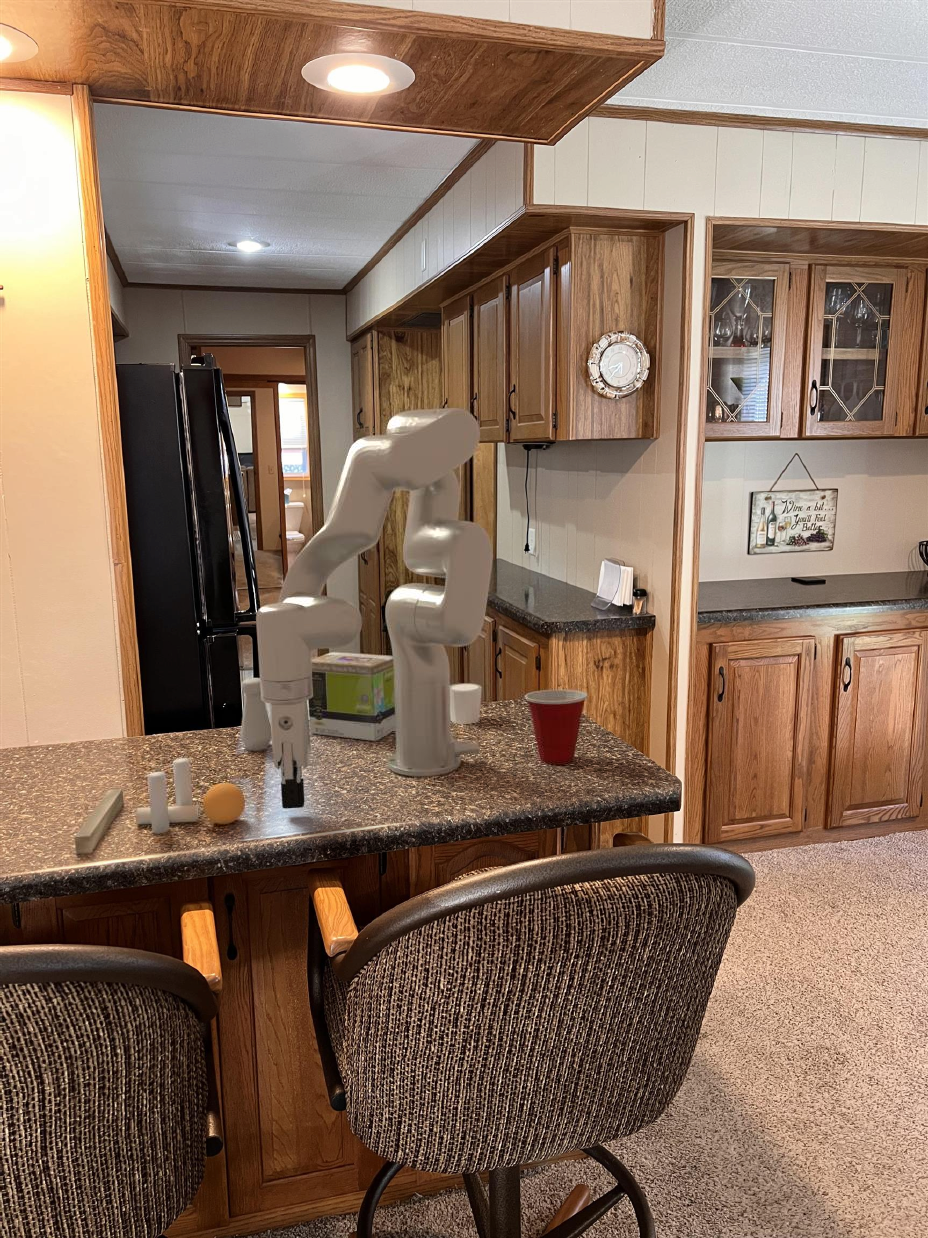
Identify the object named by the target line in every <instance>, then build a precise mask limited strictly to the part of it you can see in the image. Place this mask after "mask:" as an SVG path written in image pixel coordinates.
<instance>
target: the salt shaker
mask: <svg viewBox="0 0 928 1238" xmlns="http://www.w3.org/2000/svg"><path fill="white" fill-rule="evenodd" d="M241 692H242V693H243V694H244V703H243V711H242V718H241V728H240V729H241V730H240V740H241V741H242V743H243V745H244V747H245V748H246V750H248V751H251V752H252V751H253V752H254V751H255V752H256V751H257V752H258V751H259V752H260V751H263V750H266V749H268V747H270V746H269V745H270V743H271V742H272V736H271V721H270V716H269V714H268V713H269V712H268V710H267V705H266V702H263V701H262V700H261V687H260V677H250V678H247V679H244V680H243V681H242V682H241Z"/></svg>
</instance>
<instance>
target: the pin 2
mask: <svg viewBox="0 0 928 1238" xmlns="http://www.w3.org/2000/svg"><path fill="white" fill-rule="evenodd" d="M190 763H191V762H190V759H189V758H186V757H185V758H183V757H182V758H177V759H174V760H173V761H172V768H173V782H174V794H175V806H190V805H194V802H193V787H192V779H191V778H192V777H191V776H192V775H191V765H190Z"/></svg>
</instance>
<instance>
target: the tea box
mask: <svg viewBox="0 0 928 1238" xmlns="http://www.w3.org/2000/svg"><path fill="white" fill-rule="evenodd" d="M311 664H312V684H313V697H312V698H310V699H309V700H307V706H308V717H309V732H310V734H313V735H314V734H315V735H323V736H329V737H338V738H349V739H355V740H357V739H358V740H365V741H371V742H376V741H379V740H381V739H383V738H384V736H385V737H387V736H388V735H389V734H388V733H390V732H392V731H393V732H395V731H396V730H395V729H396V726H395V699H394V668H393V655H383V654H372V653H371V654H370V653H357V652H356V653H355V652H342V651H341V652H340V651H332V652H329V653H326V654H324V655H320V656H318V657H315V658H311ZM394 730H395V731H394ZM393 732H392V733H393ZM387 734H388V735H387ZM390 734H391V733H390ZM382 737H383V738H382Z"/></svg>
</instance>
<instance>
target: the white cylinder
mask: <svg viewBox="0 0 928 1238" xmlns="http://www.w3.org/2000/svg"><path fill="white" fill-rule="evenodd" d="M482 690H483V689H482V686H481V685H480V684H476V683H471V682H470V683H466V682H465V683H464V682H463V683H462V682H461V683H455V684H450V715H451V721H452V722H454V723H453V724H455V723H458V724H457V725H459V724H470V725H472V724H471V723H475V724H477V723H479V722H480V714H481V713H480V712H481V702H482V701H481V700H482ZM478 721H479V722H478ZM476 722H477V723H476Z"/></svg>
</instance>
